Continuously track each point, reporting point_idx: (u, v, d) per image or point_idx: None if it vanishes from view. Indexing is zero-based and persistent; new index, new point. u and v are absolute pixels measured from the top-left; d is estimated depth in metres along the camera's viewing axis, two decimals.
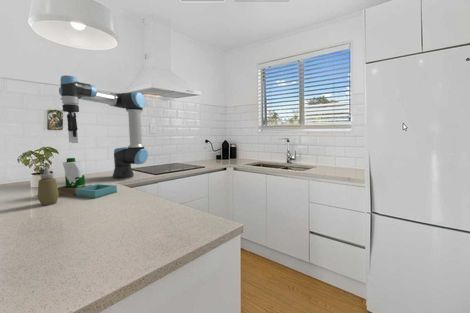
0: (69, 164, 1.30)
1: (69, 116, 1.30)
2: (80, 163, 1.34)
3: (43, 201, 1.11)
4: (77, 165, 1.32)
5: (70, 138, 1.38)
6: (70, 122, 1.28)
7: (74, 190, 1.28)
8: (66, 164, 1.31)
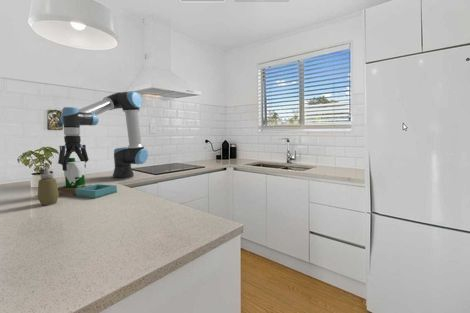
0: (69, 164, 1.30)
1: None
2: (80, 163, 1.34)
3: (43, 201, 1.11)
4: (77, 165, 1.32)
5: None
6: None
7: (74, 190, 1.28)
8: None
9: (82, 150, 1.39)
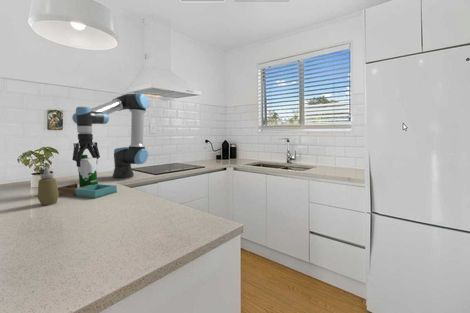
0: (82, 160, 1.38)
1: None
2: (92, 160, 1.41)
3: (43, 201, 1.11)
4: (90, 161, 1.39)
5: None
6: (78, 152, 1.38)
7: (74, 190, 1.28)
8: None
9: (94, 147, 1.46)
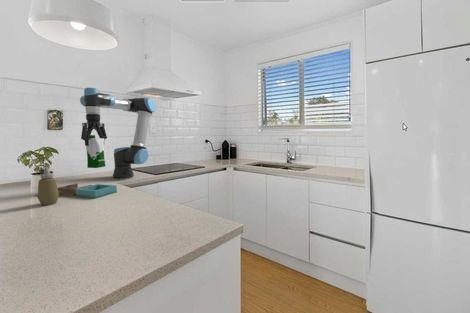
0: (90, 140, 1.42)
1: None
2: (100, 139, 1.46)
3: (43, 201, 1.11)
4: (98, 141, 1.44)
5: None
6: None
7: (74, 190, 1.28)
8: None
9: (101, 128, 1.51)
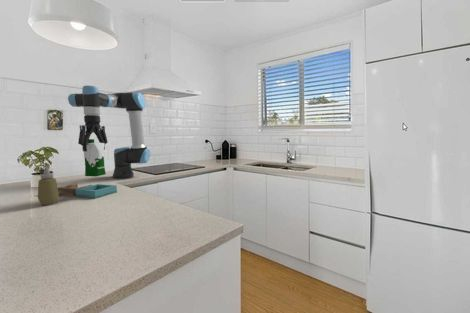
0: (89, 145, 1.26)
1: None
2: (100, 144, 1.29)
3: (43, 201, 1.11)
4: (97, 146, 1.27)
5: None
6: None
7: (74, 190, 1.28)
8: None
9: (101, 132, 1.34)
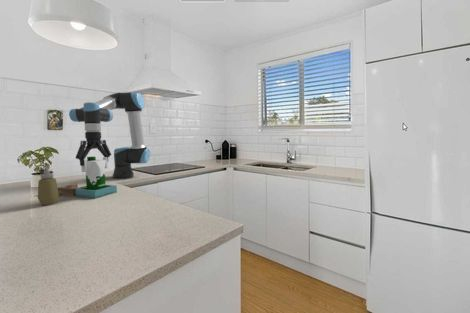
0: (90, 163, 1.27)
1: None
2: (101, 162, 1.30)
3: (43, 201, 1.11)
4: (98, 164, 1.28)
5: None
6: (83, 150, 1.25)
7: (74, 190, 1.28)
8: (87, 163, 1.27)
9: (103, 146, 1.36)
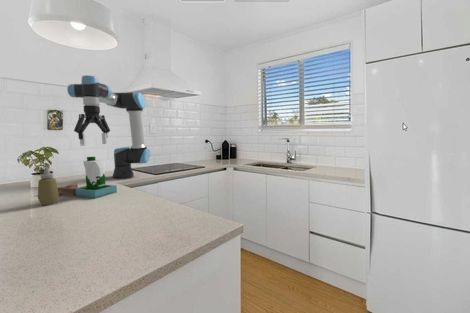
0: (90, 163, 1.27)
1: None
2: (101, 162, 1.30)
3: (43, 201, 1.11)
4: (98, 164, 1.28)
5: (103, 140, 1.36)
6: (82, 124, 1.24)
7: (74, 190, 1.28)
8: (87, 163, 1.27)
9: (102, 121, 1.35)
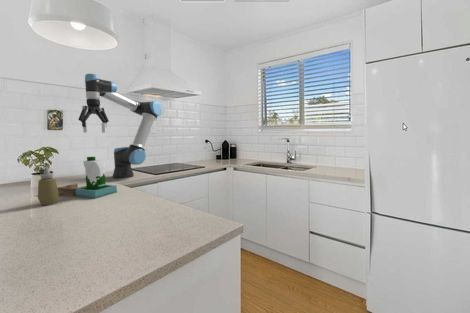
0: (90, 163, 1.27)
1: None
2: (101, 162, 1.30)
3: (43, 201, 1.11)
4: (98, 164, 1.28)
5: (102, 129, 1.60)
6: None
7: (74, 190, 1.28)
8: (87, 163, 1.27)
9: (102, 113, 1.58)
